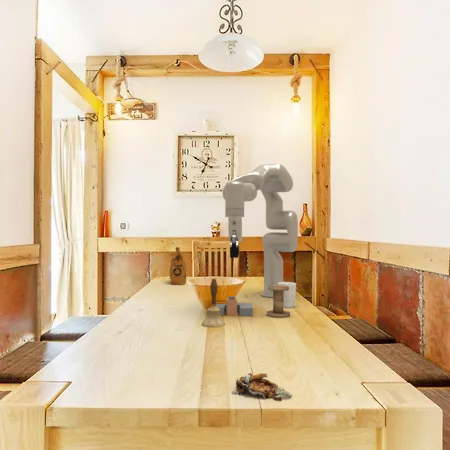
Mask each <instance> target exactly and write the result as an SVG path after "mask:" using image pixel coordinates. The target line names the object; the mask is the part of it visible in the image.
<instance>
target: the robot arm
mask: <svg viewBox="0 0 450 450" xmlns="http://www.w3.org/2000/svg"><path fill="white" fill-rule="evenodd" d="M293 187H294V181H293V177H292V175H291V174H290V172H289V171H288V170H287V168H286V167H285V166H284V165H283V164H280V163H269V164H268V163H267V164H259V165H258V166H257V167H255V168H254V169H253V170H252V171H250V173H246V174H244V175H241V176H238V177H236V178H233V179H231V180H229V181H228V182H226V183H225V185H224V187H223V188H222V198H223V200H224V201H225V202H224V203H225V205H224V209H225V211H224V213H225V214H224V215H225V216H224V217H225V218H228V219H227V222H228V223H227V226H228V227H227V231H228V242H230V245H229V258H230V259H238V258H239V256H240V246H239V242H240V243H241V242H242V241H243V221H242V220H243V218H245V202H252V201H254V200H255V199H256V198H257V196H258V191H260V192H261V194H262V196H263V197H264V200H265V226H266V228H267V229H269V230H276V231H277V230H279V231H278V232H276V231H275V232H266V233H265V234H264V235H263V236H262V238H261V239H262V242H261V243H262V248H263V291H261V292H260V295H261V296H262V297H265V298H273V290H269V289H268V286H271V285H278V283H279V282H284V259H283V257H282V256H281V254H280V252H281V253H293V252H295V251H296V250H297V248H298V245H299V244H298V241H299V236H298V234H299V233H298V232H299V219H298V215H297V213H296V212H295V211H293V210H284V202H283V198H282V197H281V195H280V194H279V193H288V192H290V191H292V190H293ZM280 230H281V231H282V230H283V231H285V230H286V231H287V232H280Z"/></svg>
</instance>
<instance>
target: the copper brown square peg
mask: <svg viewBox="0 0 450 450" xmlns="http://www.w3.org/2000/svg"><path fill="white" fill-rule="evenodd" d="M226 303H227V312H226V316H238V312H237V303H238V298H237V297H236V296H233V295H232V296H231V295H230V296H228V297H226Z"/></svg>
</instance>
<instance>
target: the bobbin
mask: <svg viewBox="0 0 450 450" xmlns="http://www.w3.org/2000/svg"><path fill="white" fill-rule="evenodd" d="M268 289H269V290H273V297H272V300H273V301H272V305H273V307H272V310H267V311H266V316H268V317H271V318H280V319H281V318H283V319H284V318H289V317H290V316H291V312H290V311H288V310H285V308H284V291H287V290H289V287H288V286H283V285H271V286H268Z"/></svg>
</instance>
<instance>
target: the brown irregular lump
mask: <svg viewBox="0 0 450 450" xmlns="http://www.w3.org/2000/svg"><path fill="white" fill-rule="evenodd" d="M268 377H269V375H268V374H267V373H263V372H262V373H256V374H254V375H253V373H252V372H249V373H248V374H245V375H244V376H241V377H239V378H238V377H237V378H235V380H236V381H235V385H236V387H237V388H238V393H237V392H235V391H231V395H234V396H235V395H238V396H241V397H242V396H244V391H248V392H249V393H251V394H252V395H254V396H256V395H262V396H263V399H264V400H270V399H272V400H274V401H278V402H280V401H281V402H282V400H283V401H288V400H291V398H292V394H291V393H290V392H288V391H287V390H286V389H285V388H283V386H279V385H277V383H275V382H272V381H271V380H268V379H267V378H268Z"/></svg>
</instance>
